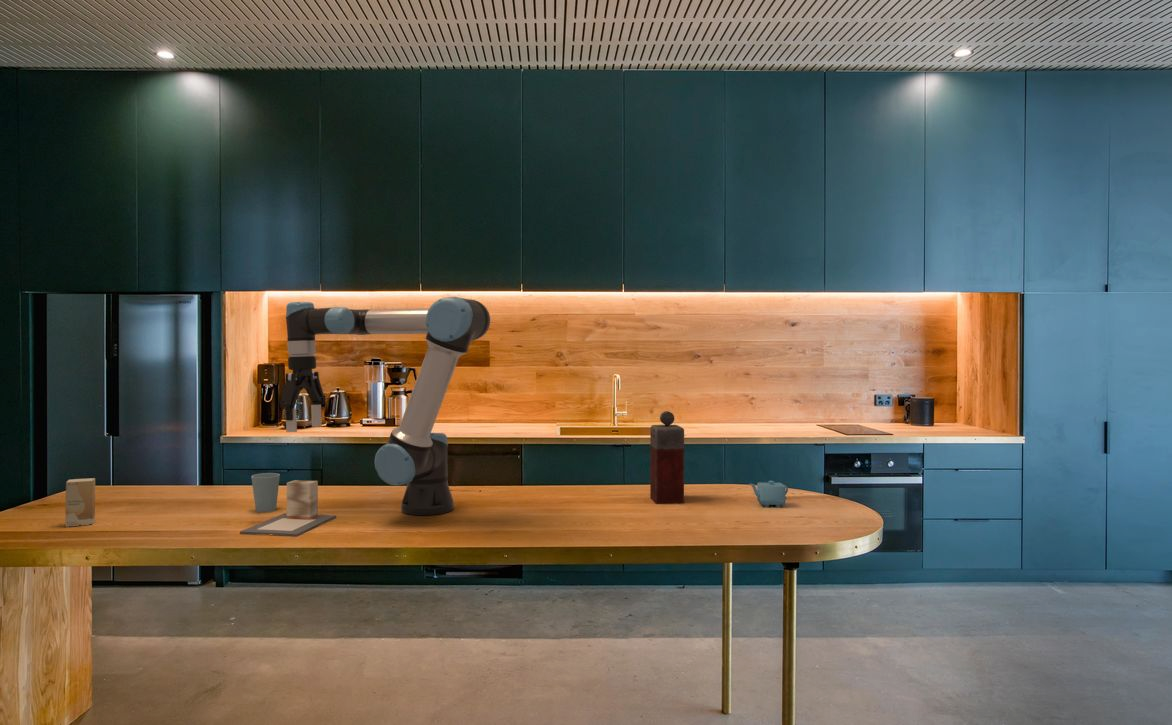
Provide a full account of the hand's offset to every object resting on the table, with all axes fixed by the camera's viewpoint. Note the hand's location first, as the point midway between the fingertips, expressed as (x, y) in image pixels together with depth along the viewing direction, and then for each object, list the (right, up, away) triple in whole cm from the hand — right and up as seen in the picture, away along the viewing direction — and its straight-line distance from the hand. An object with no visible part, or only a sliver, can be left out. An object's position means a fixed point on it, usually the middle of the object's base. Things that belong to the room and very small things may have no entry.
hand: (304, 429), depth 207 cm
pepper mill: (+107, -24, +19) cm, 111 cm away
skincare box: (-56, -25, -12) cm, 63 cm away
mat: (+1, -25, -13) cm, 28 cm away
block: (+2, -24, -7) cm, 25 cm away
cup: (-13, -25, +4) cm, 28 cm away
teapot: (+137, -24, +11) cm, 139 cm away
